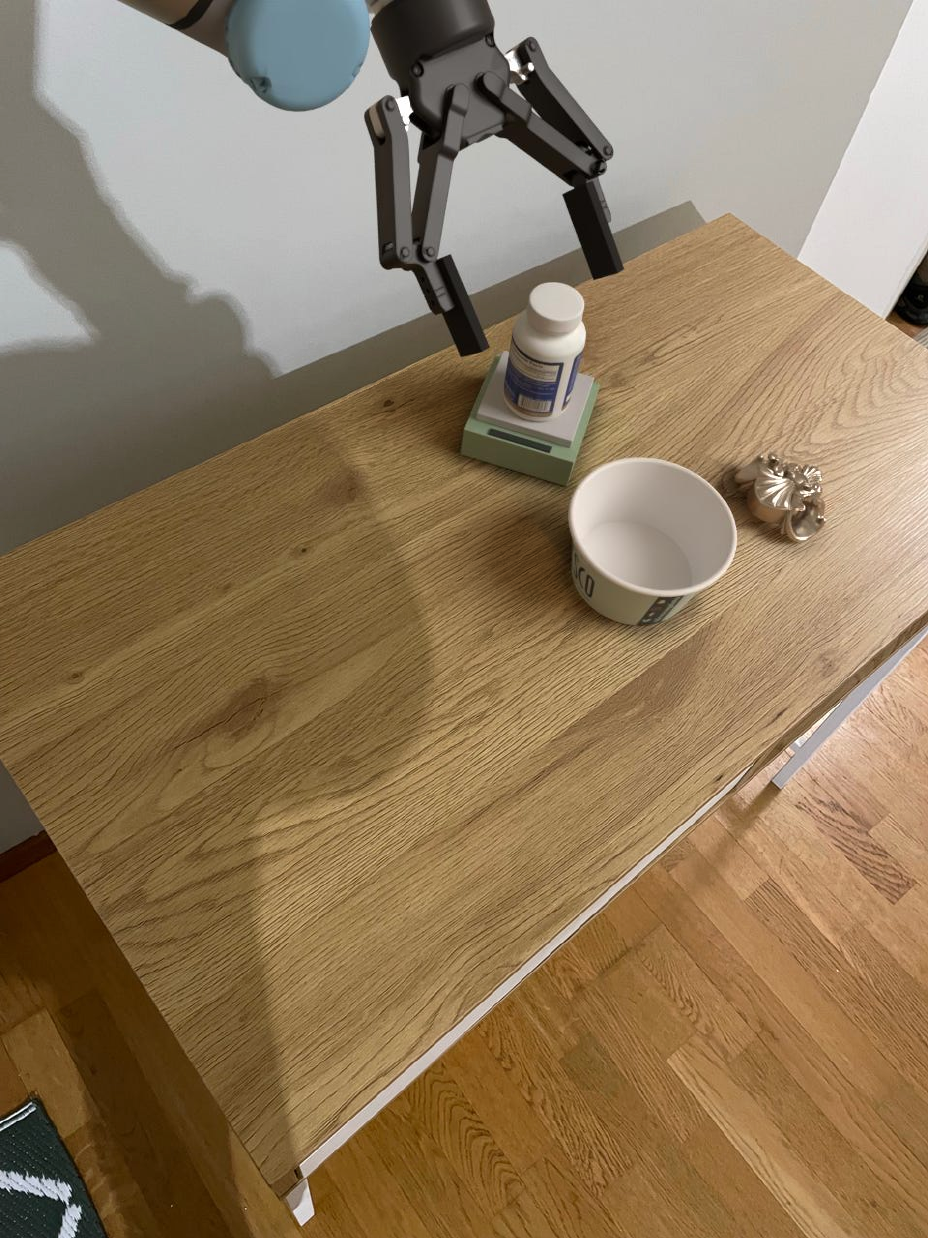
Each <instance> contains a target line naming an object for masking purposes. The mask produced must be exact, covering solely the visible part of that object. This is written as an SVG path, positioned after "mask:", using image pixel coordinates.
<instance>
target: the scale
mask: <svg viewBox="0 0 928 1238" xmlns="http://www.w3.org/2000/svg"><path fill="white" fill-rule="evenodd" d="M508 357H509V351H506V350H502V353H501V354H500V353H495V355H494V357H493V359H492V362H491V364H490V366H489V369H488V371H487V374H486V376H485V378H484V381H483V382H482V385H481V387H480V390H479V393H478V394H477V397H476V399H475V402H474V404H473V406H472V409H471V411H470V413H469V416H468V418H467V420H466V422H465V425H464V427H463V431H462V438H461V446H460V455H462V456H465V457H467V458H468V457H469V458H471V459H474V460H478V461H482V462H485V463H488V464H491V465H495V466H497V467H498V466H499V467H500V468H504V469H508V470H511V471H514V472H517V473H521V474H524V475H528V476H531V477H534V478H537V479H540V480H544V481H547V482H551V483H553V484H557V485H559V486H565V487H568V485H569V482H570V479H571V476H572V473H573V471H574V467H575V464H576V462H577V459H578V455H579V452H580V449H581V446H582V443H583V441H584V438H585V434H586V431H587V429H588V425H589V423H590V419H591V416H592V413H593V410H594V407H595V404H596V400H597V397H598V394H599V390H600V387H601V383H599V382H595V381H594V380H595V376H591V375H588V374H585V373H581V372H579V371H578V372H577V376H576V380H575V383H574V387H573V391H572V395H571V399H570V402H569V405H568V407H567V409H566V410H565V411H564V412H563V413H562V414H561V415H560V416H558V417H557V418H554V419H552V420H547V421H531V420H527V419H524V418H522V417H520V416H518V415H516V414H515V413H514V412H513V411H511V410H510V408H509V407H508V406H507V404H506V403H505V400H504V396H503V388H504V380H505V374H506V368H507V362H508Z"/></svg>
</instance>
